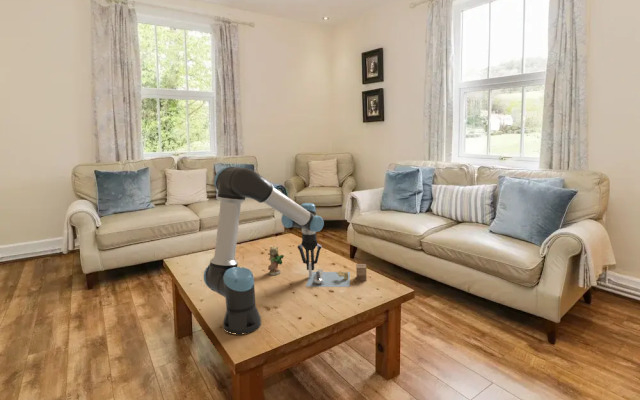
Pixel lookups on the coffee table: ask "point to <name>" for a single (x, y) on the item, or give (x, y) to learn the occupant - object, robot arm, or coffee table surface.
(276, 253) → the figurine
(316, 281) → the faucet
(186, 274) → the coffee table surface
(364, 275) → the block
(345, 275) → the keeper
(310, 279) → the board
